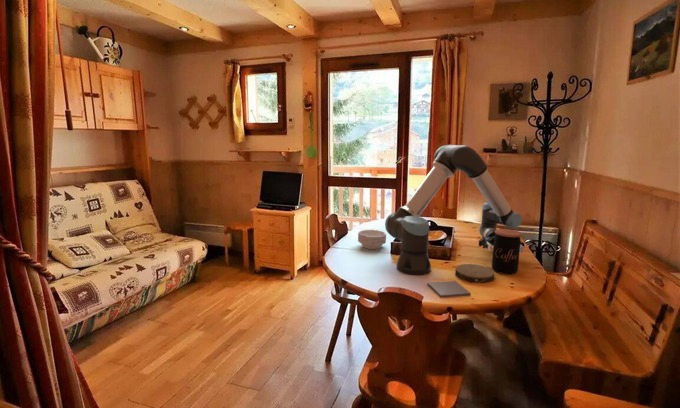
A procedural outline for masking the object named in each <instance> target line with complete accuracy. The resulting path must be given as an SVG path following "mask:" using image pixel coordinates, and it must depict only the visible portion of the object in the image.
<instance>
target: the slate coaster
mask: <svg viewBox="0 0 680 408" xmlns="http://www.w3.org/2000/svg"><path fill="white" fill-rule="evenodd" d="M427 287H429V288H430V289H431V290H432V291H433V292H434V294H436V295H437V296H438V297H439V298H441V299H442V298H443V299H444V298H456V297H470V296H471V295H472V294H471V292H470V291H469V290H467V288H465V287H463V285H461V284H460V283H458V281H456V280H451V281H447V280H446V281H434V282H431V281H430V282H427Z"/></svg>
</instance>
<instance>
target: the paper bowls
mask: <svg viewBox="0 0 680 408" xmlns="http://www.w3.org/2000/svg"><path fill="white" fill-rule="evenodd" d="M357 234H358V235H357V241H358V243H360V244H361V246H362V247H363V248H365V249H367V250H378V249H380V248H382V246H383V245H385V244H386V242H387V234H386V232H384V231H382V230H377V229H376V230H375V229H363V230H360V231H358V233H357Z"/></svg>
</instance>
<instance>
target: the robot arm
mask: <svg viewBox="0 0 680 408" xmlns="http://www.w3.org/2000/svg"><path fill="white" fill-rule="evenodd" d="M433 157H434V158H433V162H432V168H431V170H429V172H428V174H427V175H426V176H425V178H424V179H423V180H422V182H421V183H420V185H418V187H417V189H416V190H415V191H414V193H413V194H412V196H410V198H409V199H408V201H407V202H406V203H405V205H404V206H400V207H399V208H398V209H397V210H396V212H392V213H390V214H388V216H387V217H386V219H385V221H384V223H385V224H384V225H385V230H386V232H387V234H389V236H391V237H392V238H395V239H396V240H398V241H400V242H401V251H400V254H399V256H398V259H397V262H396V270H397V271H398V272H399V273H403V274H405V275H412V276H414V275H415V276H422V275H426V274H429V273H430V272H431V271H432V267H431V266H432V265H431V262H430V258H429V254H428V250H429V237H430V236H429V233H430V222H429V221H428V220H427V219H426V218H424V217H421V214H422V213H423V212H424V211H425V209H426V208H427V207H428V205H429V204H430V203H431V200H433V198H434V197H435V195H436V194H437V192H438V191H439V190H440V189H441V188H442V186H443V185H444V184H445V182H446V181H447V179H448V178H452V177H453V176H454V175H455V173H456V172H457V171H461V172H462V173H464V174H465V175H466V176H467V178H469V179H472V181H473V182H474V184H475V185H476V187H477V188H478V190H479V191H480V194H482V196H483V197H484V199H485V201H486V202H484V203H483V204H482V213H481V224H480V226H479V228H478V232H479V233H480V234H479V235H481V239H479V240H478V247H482V249H487V250H488V251H489V252H492V251H493V246H494V236H495V235H496V234H495V230H497V227H498V226H497V224H499V225H503V226H504V227H507V228H514V229H516V228H518V227H519V226H520V225H522V220H523V217H522V215H521V214H520V213H518V212H515V211H514V210H513V209H512V207H511V205H510V204H509V203H508V201H507V199H506V198H505V196H504V195H503V193H502V191H501V190H500V189H499V187H498V185H497V184H496V182H495V180H494V179H493V177H492V176H491V174H490V172H489V171H488V170H489V169H488V168H489V166H488V165H487V163H486V161H485V159H483V158H482V156H481V155H480V154H479V153H478V152H477V151H476V150H475V149H474V148H473V147H471V146H468V145H464V144H463V145H462V144H461V145H457V144H446V145H442V146H440V147H438V149H436V151H435V153H434V154H433ZM525 245H526V244H525V242H522V241H521V242H520V252H519V253H521V254H524V252H525V251H524V249H525Z"/></svg>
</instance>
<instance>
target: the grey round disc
mask: <svg viewBox="0 0 680 408" xmlns="http://www.w3.org/2000/svg"><path fill="white" fill-rule="evenodd" d="M495 274H496V273H495V271H494V270H493V268H489V267H487V266H484V265H480V264H473V263H463V264H459V265H457V266H455V273H454V275H455V276H456V278H458V279H460V280H461V281H464V282H468V283H471V284H472V283H473V284H489V283H492V282H494V280H495Z"/></svg>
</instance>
